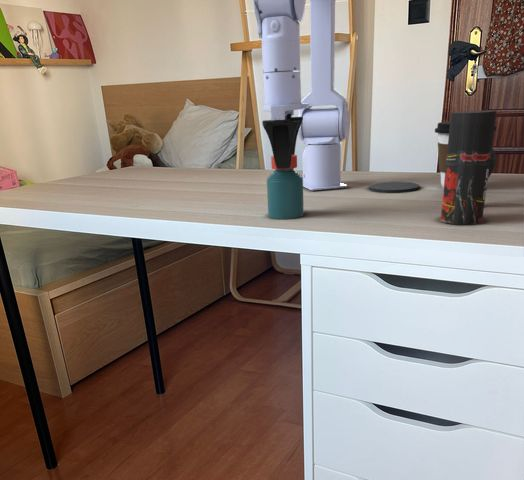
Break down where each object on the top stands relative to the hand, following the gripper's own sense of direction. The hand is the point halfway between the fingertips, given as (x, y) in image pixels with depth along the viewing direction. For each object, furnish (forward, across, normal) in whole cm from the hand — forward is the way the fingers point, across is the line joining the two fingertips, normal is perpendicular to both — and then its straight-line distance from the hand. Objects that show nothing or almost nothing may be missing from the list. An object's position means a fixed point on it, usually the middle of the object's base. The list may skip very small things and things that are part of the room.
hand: (284, 166), depth 86 cm
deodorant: (+8, -6, -27) cm, 29 cm away
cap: (-1, 0, 0) cm, 1 cm away
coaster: (+8, +24, -20) cm, 32 cm away
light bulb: (+8, +4, -31) cm, 32 cm away
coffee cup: (+8, +22, -32) cm, 40 cm away
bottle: (+8, 0, 0) cm, 8 cm away
